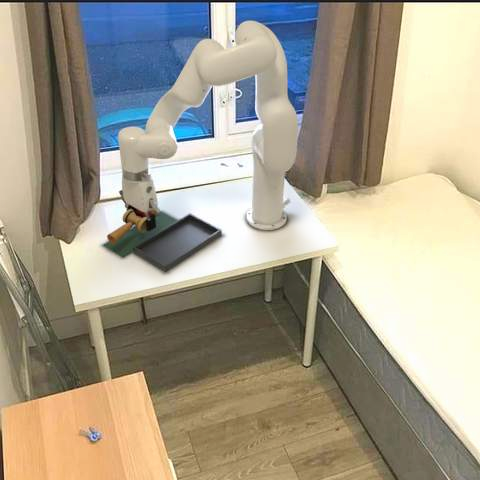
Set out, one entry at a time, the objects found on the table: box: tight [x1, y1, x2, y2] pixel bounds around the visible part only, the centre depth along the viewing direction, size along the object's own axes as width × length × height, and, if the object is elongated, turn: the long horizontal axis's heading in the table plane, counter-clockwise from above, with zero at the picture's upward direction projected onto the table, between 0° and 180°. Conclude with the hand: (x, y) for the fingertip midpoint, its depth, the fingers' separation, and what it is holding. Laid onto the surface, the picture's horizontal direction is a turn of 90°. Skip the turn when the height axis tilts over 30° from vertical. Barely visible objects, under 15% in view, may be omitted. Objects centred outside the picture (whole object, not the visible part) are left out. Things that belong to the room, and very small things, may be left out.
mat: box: [103, 211, 179, 258], centre depth 180 cm, size 23×8×1 cm, turn 142°
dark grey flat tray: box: [132, 212, 223, 273], centre depth 176 cm, size 23×13×2 cm, turn 142°
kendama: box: [106, 209, 152, 244], centre depth 173 cm, size 8×6×18 cm
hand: (141, 223), depth 177 cm, fingers closed on kendama, 7 cm apart
